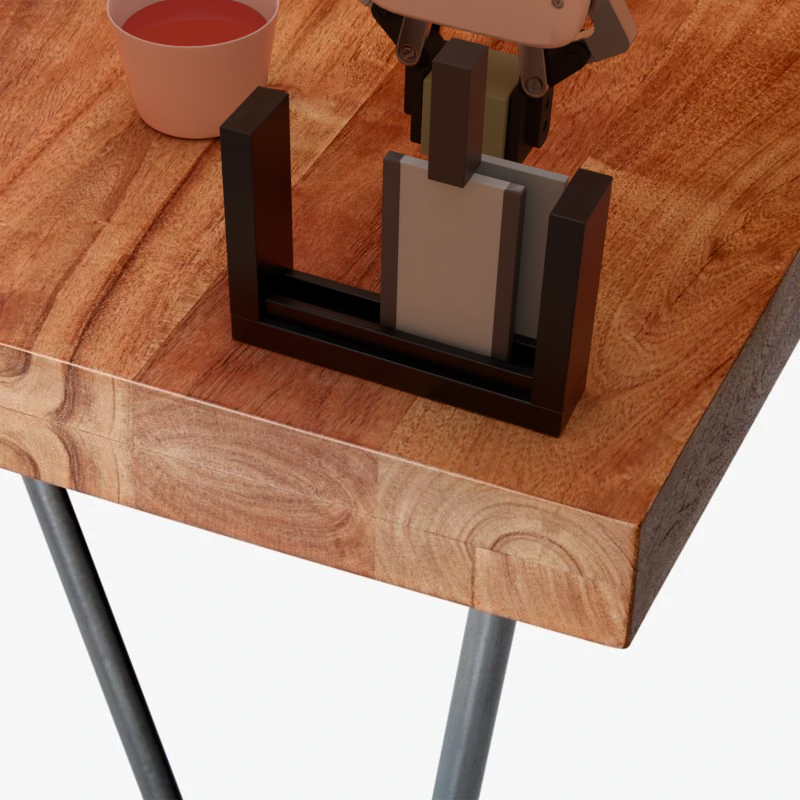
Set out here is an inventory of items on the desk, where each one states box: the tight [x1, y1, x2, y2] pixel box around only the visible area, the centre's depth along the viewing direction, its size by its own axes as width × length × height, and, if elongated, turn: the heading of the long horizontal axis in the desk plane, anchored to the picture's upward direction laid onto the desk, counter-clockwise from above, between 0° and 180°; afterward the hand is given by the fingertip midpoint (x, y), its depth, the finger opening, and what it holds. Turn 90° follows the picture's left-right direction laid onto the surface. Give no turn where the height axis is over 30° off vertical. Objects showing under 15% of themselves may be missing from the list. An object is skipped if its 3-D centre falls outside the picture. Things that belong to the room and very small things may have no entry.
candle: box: [105, 0, 280, 140], centre depth 89 cm, size 9×9×6 cm
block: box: [419, 48, 520, 159], centre depth 77 cm, size 4×4×4 cm
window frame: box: [219, 86, 614, 438], centre depth 72 cm, size 16×4×12 cm, turn 67°
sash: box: [379, 36, 527, 362], centre depth 69 cm, size 6×2×15 cm, turn 67°
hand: (474, 138), depth 78 cm, fingers closed on block, 4 cm apart
